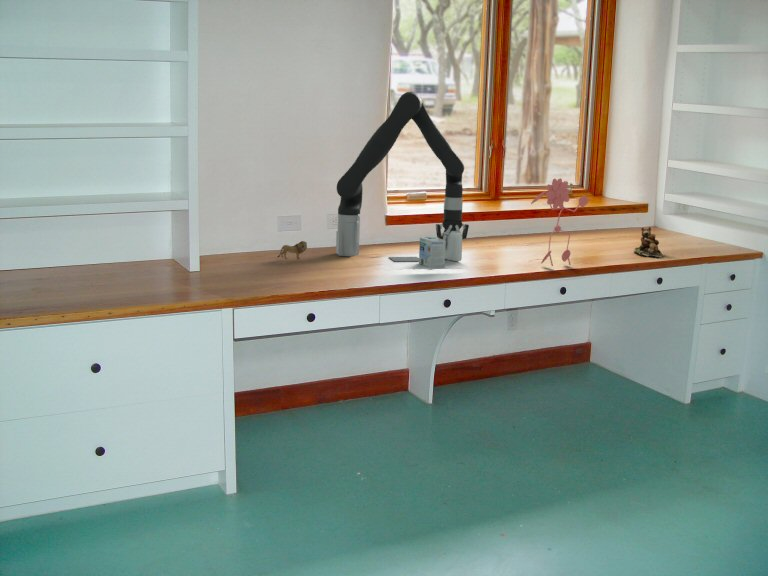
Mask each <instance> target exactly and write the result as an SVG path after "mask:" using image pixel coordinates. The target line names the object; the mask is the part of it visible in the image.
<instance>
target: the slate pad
mask: <svg viewBox="0 0 768 576" xmlns="http://www.w3.org/2000/svg"><path fill="white" fill-rule="evenodd" d="M388 259H389V260H391V261H393V262H394V263H409V262H410V263H417V262H418V263H419V256H418V257H417V256H388Z"/></svg>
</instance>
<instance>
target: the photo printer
mask: <svg viewBox="0 0 768 576" xmlns="http://www.w3.org/2000/svg"><path fill="white" fill-rule="evenodd" d="M443 232H444V230H443V231H441V236H442V235H443ZM445 240H446V248H445V260H448V261H453V262H461V261H462V259H463V257H462V256H463V254H462V253H463V240H462V233H461V232H460V233H459V232H457V231H451V232H450V233H449V234H448V236H447V237H446V239H445Z"/></svg>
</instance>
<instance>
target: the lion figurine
mask: <svg viewBox="0 0 768 576" xmlns="http://www.w3.org/2000/svg"><path fill="white" fill-rule="evenodd" d="M307 244H308V243H307V242H306V241H305V240H301V241H300V242H298V243H295V245H288V244H284V245H283V246H282V247H281V249H280V252H279V255H278V256H277V258H280V257H281V258H282V259H283V258H284V259H285V260H288V257H287V256H286V255H287V253H290V254H296V256H295V258H296V259H297V261H298V260H299V261H300V254H303V253H304V252H305V251H306V250H307V248H308V245H307Z"/></svg>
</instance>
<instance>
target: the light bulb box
mask: <svg viewBox="0 0 768 576" xmlns="http://www.w3.org/2000/svg"><path fill="white" fill-rule="evenodd" d="M445 245H446V240H443V239H439V238H437V236H422V237H421V236H420V237H419V248H418V249H419V251H418V254H419V255H418V258H419V262H418V264H419V265H422V266H425V267H428V268H429V269H430V268H432V269H435V268H445V266H446V265H445V264H446V263H445V261H446V259H445Z"/></svg>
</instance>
